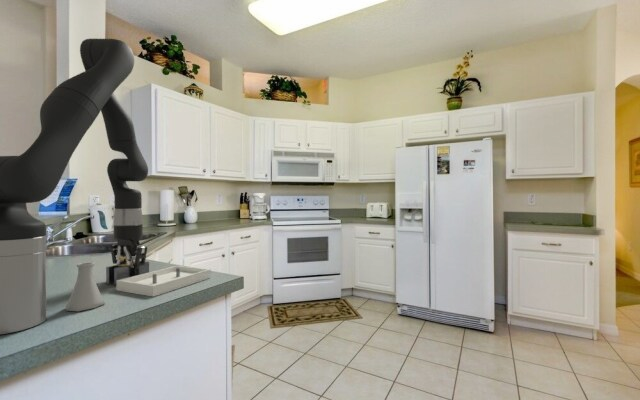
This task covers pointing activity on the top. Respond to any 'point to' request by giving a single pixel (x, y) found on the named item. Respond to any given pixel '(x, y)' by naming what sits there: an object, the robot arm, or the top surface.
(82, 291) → the flask
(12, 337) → the top surface
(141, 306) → the top surface
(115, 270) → the block
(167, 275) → the tray
